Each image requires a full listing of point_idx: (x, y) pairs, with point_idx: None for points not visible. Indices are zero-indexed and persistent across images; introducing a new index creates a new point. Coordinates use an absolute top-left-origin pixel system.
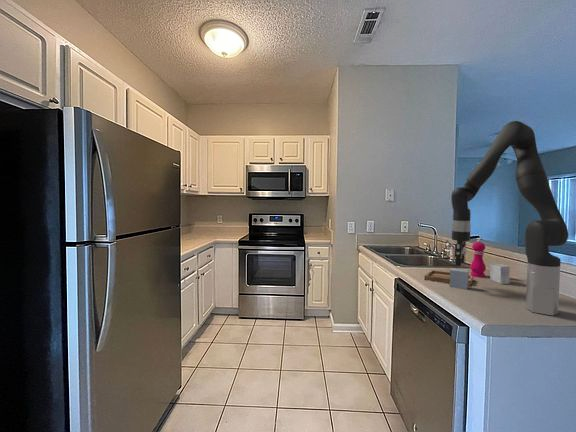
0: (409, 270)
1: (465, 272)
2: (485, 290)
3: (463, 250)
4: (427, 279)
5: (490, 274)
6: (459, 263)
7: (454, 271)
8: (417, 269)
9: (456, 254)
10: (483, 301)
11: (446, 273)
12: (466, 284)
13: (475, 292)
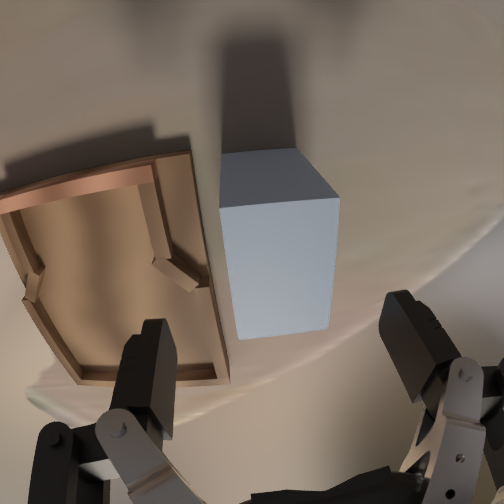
0: None
1: (336, 212)
2: (230, 38)
3: (479, 467)
4: (227, 359)
5: None
6: (433, 317)
7: (328, 296)
8: (67, 405)
9: (496, 413)
10: (486, 61)
11: (51, 329)
12: (305, 160)
13: (343, 88)
